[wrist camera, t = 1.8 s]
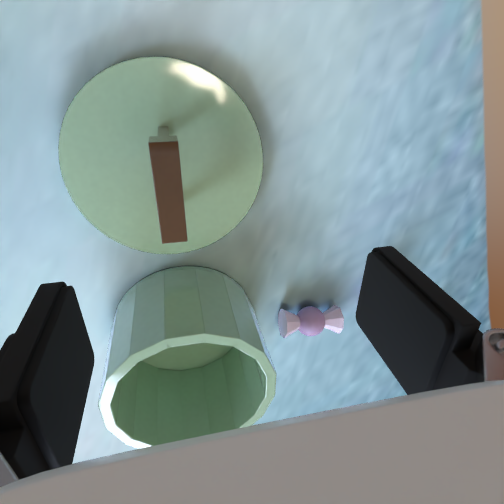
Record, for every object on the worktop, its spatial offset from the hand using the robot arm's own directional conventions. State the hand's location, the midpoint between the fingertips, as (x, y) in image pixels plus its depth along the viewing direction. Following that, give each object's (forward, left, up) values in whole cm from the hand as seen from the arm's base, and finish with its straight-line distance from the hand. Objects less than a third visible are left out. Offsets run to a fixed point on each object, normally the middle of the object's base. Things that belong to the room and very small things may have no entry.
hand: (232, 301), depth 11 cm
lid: (-2, 0, -16) cm, 16 cm away
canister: (-2, -15, -17) cm, 23 cm away
